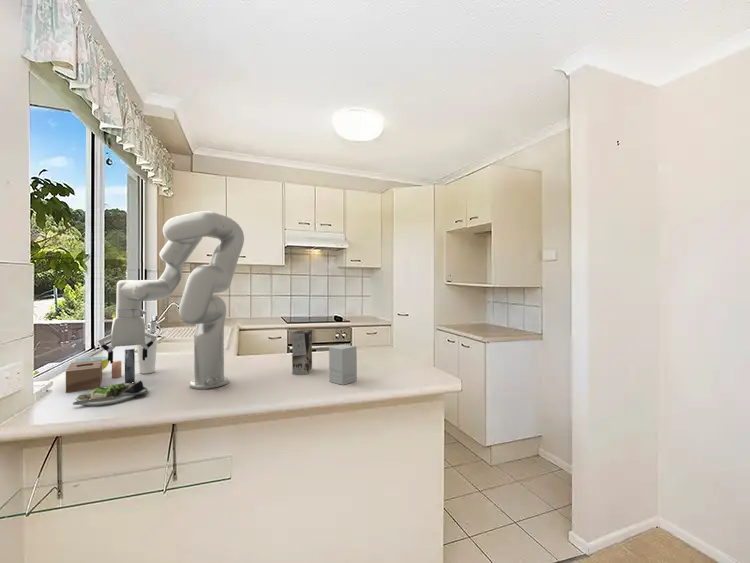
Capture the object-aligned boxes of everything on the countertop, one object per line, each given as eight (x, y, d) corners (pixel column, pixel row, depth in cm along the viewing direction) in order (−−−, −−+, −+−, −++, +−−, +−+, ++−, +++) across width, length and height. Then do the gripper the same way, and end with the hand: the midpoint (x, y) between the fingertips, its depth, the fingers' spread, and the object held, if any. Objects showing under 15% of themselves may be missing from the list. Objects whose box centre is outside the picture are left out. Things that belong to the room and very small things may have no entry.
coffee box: (308, 374, 140) (308, 333, 140) (291, 374, 140) (291, 333, 140) (312, 368, 149) (312, 329, 149) (297, 368, 149) (296, 329, 149)
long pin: (135, 382, 130) (134, 349, 130) (124, 384, 128) (124, 350, 128) (134, 380, 132) (134, 348, 132) (124, 382, 131) (124, 349, 131)
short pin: (121, 377, 137) (121, 361, 137) (111, 378, 136) (111, 362, 136) (121, 375, 140) (121, 360, 140) (111, 376, 138) (111, 361, 138)
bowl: (116, 371, 147) (116, 355, 147) (95, 378, 136) (95, 362, 136) (88, 371, 147) (88, 356, 147) (65, 379, 135) (64, 362, 135)
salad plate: (86, 414, 99) (86, 398, 99) (57, 404, 108) (57, 389, 108) (157, 395, 116) (157, 380, 116) (127, 387, 125) (127, 374, 125)
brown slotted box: (100, 387, 124) (99, 367, 124) (65, 392, 118) (65, 371, 118) (102, 377, 137) (102, 359, 137) (71, 381, 132) (71, 362, 132)
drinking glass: (161, 370, 147) (160, 334, 147) (149, 374, 141) (148, 336, 141) (145, 370, 148) (145, 333, 148) (133, 374, 141) (132, 336, 141)
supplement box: (357, 381, 130) (357, 346, 130) (342, 385, 125) (342, 349, 125) (343, 377, 135) (343, 343, 135) (328, 381, 130) (328, 346, 130)
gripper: (155, 312, 138) (155, 356, 138) (99, 314, 128) (98, 361, 128) (157, 314, 132) (156, 360, 132) (98, 316, 122) (97, 366, 122)
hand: (128, 361), depth 130 cm, fingers open, 9 cm apart
